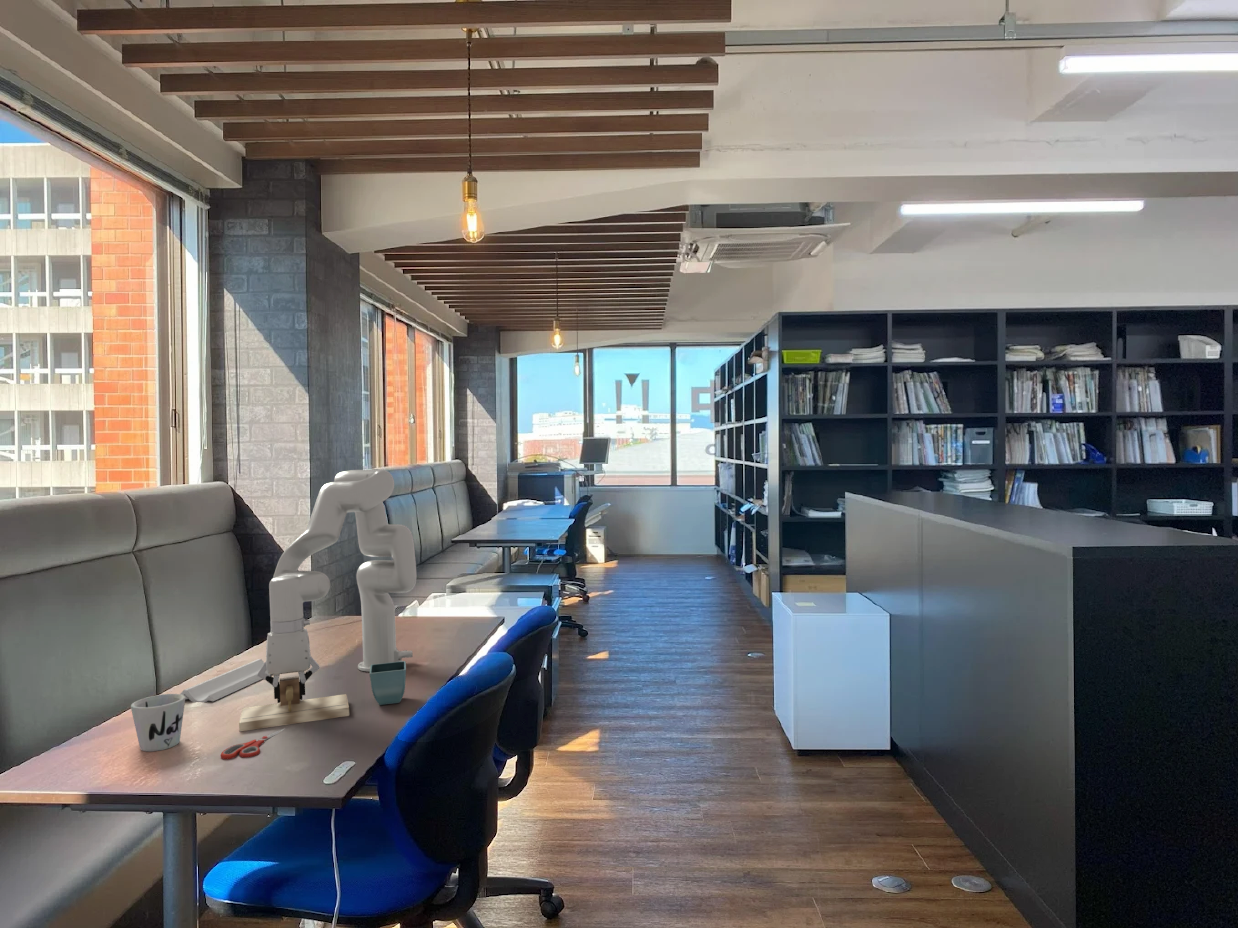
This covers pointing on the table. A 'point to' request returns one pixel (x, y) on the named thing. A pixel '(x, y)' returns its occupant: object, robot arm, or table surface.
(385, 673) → the flower pot
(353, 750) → the table surface
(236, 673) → the crown molding
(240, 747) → the scissors
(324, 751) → the table surface
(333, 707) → the maple board
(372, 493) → the robot arm
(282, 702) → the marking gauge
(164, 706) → the mug
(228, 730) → the table surface
